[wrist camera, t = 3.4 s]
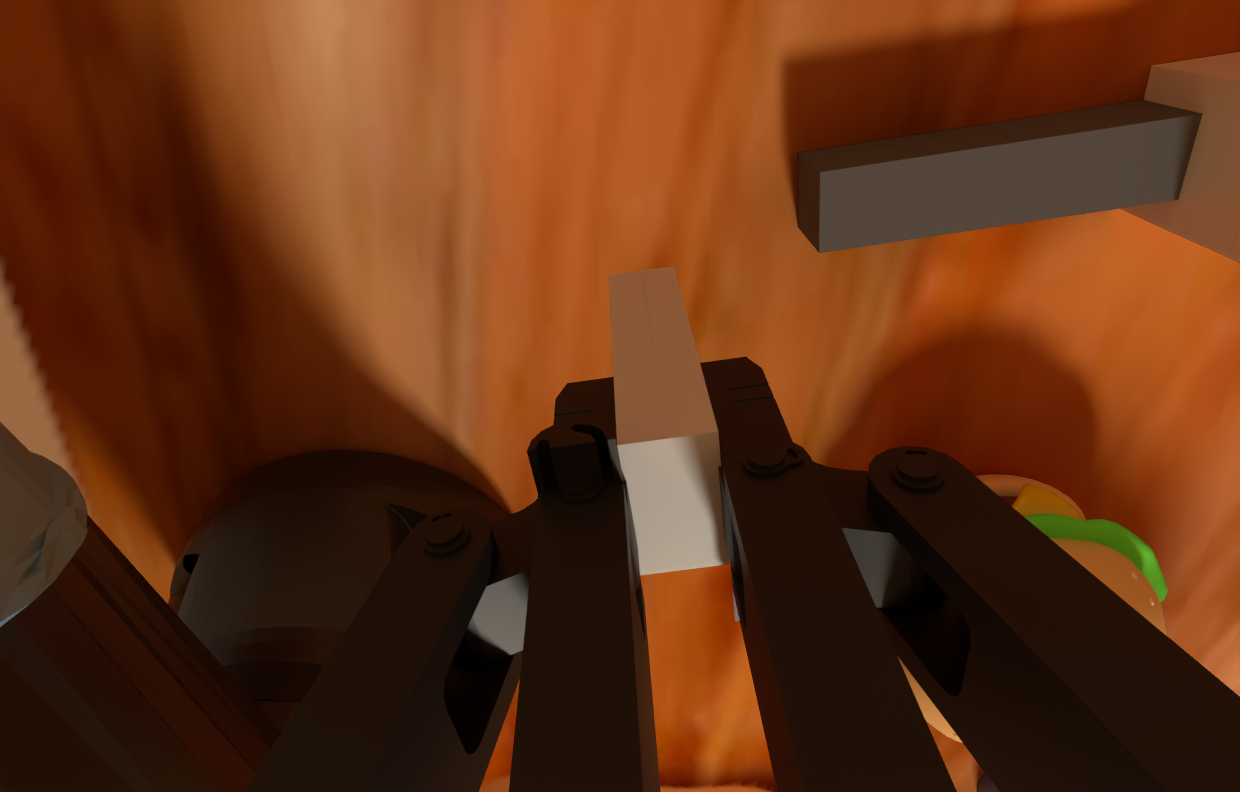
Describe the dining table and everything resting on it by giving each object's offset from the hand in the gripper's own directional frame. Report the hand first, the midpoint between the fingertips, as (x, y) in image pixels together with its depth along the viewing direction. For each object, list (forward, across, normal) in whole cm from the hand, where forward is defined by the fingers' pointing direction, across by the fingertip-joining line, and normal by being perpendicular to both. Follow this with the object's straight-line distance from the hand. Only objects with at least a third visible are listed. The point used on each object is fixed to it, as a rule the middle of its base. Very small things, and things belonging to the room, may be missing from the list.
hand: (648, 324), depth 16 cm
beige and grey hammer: (+8, +14, 0) cm, 16 cm away
